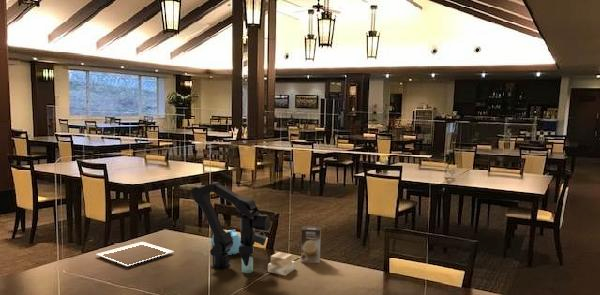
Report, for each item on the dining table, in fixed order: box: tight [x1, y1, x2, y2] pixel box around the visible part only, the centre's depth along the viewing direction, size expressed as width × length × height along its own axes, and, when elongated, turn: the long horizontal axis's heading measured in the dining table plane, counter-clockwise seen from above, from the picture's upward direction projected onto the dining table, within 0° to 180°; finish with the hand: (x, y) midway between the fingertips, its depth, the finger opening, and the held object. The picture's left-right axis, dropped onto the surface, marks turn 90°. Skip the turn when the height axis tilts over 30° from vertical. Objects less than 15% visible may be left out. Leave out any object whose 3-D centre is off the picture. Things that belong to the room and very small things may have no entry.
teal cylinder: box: [241, 255, 254, 274], centre depth 200 cm, size 5×5×6 cm
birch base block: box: [267, 260, 296, 276], centre depth 202 cm, size 9×9×4 cm
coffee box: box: [300, 225, 322, 264], centre depth 215 cm, size 9×6×16 cm
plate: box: [95, 241, 175, 267], centre depth 219 cm, size 26×26×2 cm
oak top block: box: [270, 251, 293, 267], centre depth 201 cm, size 7×7×4 cm
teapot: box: [210, 229, 241, 256], centre depth 228 cm, size 15×15×11 cm
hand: (247, 262), depth 200 cm, fingers open, 9 cm apart
